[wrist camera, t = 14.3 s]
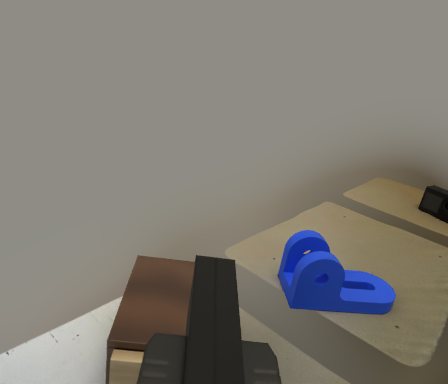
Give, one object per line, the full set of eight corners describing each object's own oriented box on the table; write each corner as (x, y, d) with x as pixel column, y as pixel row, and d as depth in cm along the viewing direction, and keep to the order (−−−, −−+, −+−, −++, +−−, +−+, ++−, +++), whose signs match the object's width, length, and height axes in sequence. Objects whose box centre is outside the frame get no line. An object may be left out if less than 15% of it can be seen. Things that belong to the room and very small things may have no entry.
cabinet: (222, 425, 36) (238, 353, 32) (104, 415, 35) (107, 340, 32) (220, 326, 49) (232, 266, 45) (133, 317, 48) (137, 255, 44)
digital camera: (415, 209, 102) (423, 186, 100) (425, 207, 105) (434, 184, 103) (452, 226, 94) (462, 202, 92) (462, 223, 97) (472, 199, 95)
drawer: (218, 480, 31) (233, 417, 28) (93, 472, 30) (94, 406, 27) (217, 333, 46) (226, 282, 43) (134, 325, 45) (138, 273, 42)
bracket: (290, 308, 54) (304, 257, 51) (278, 274, 62) (289, 228, 58) (401, 315, 57) (421, 267, 53) (376, 282, 64) (392, 238, 61)
